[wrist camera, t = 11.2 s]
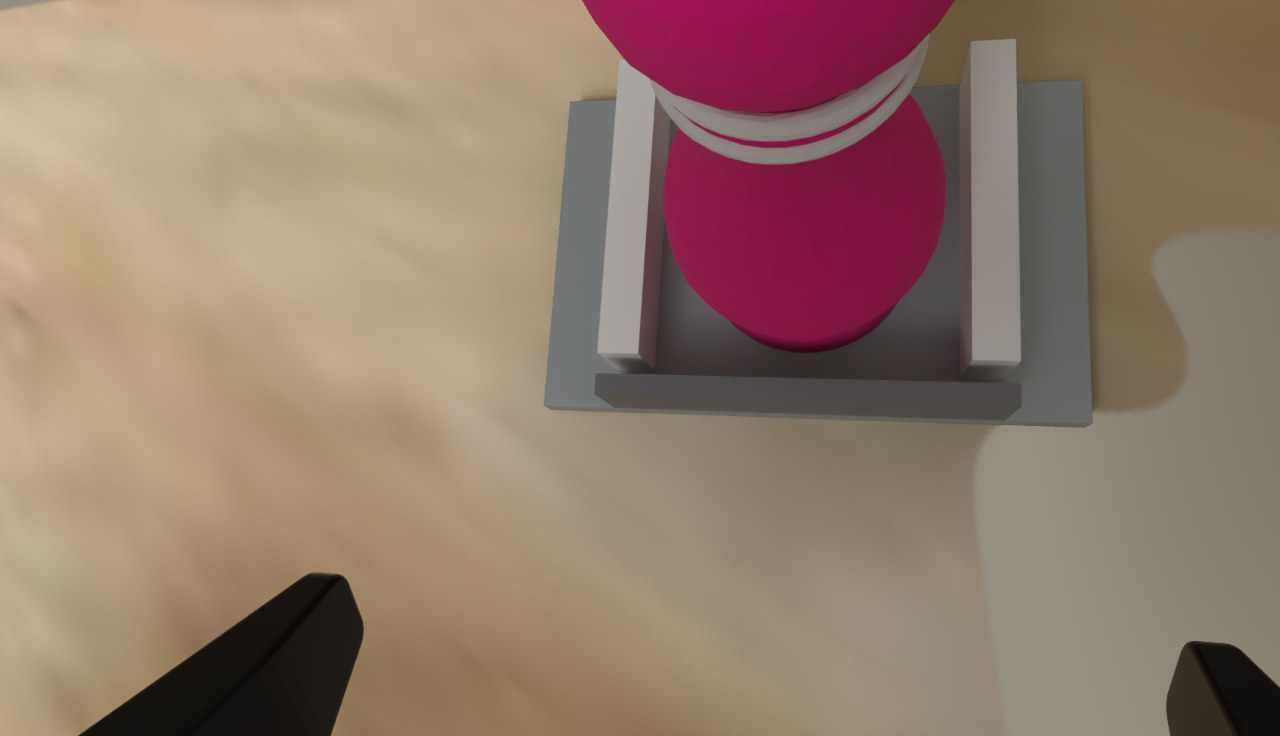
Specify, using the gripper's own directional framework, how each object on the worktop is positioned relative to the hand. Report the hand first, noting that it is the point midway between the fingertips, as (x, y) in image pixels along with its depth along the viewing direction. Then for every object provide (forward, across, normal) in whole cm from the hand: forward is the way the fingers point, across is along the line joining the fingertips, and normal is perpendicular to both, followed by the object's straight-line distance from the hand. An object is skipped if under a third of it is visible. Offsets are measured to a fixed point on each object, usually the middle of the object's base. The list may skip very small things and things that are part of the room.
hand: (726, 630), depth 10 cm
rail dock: (+20, 0, +5) cm, 20 cm away
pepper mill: (+19, 0, +5) cm, 20 cm away
